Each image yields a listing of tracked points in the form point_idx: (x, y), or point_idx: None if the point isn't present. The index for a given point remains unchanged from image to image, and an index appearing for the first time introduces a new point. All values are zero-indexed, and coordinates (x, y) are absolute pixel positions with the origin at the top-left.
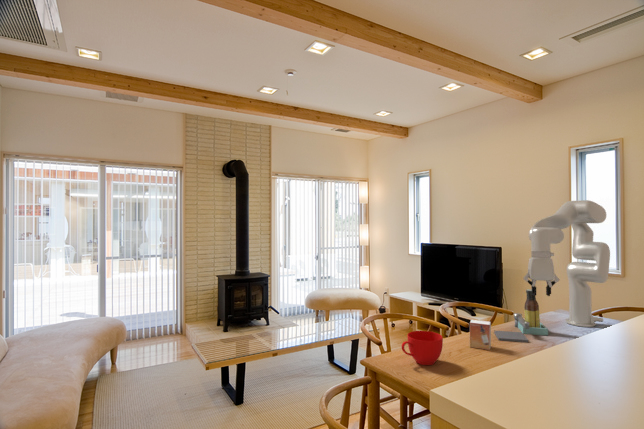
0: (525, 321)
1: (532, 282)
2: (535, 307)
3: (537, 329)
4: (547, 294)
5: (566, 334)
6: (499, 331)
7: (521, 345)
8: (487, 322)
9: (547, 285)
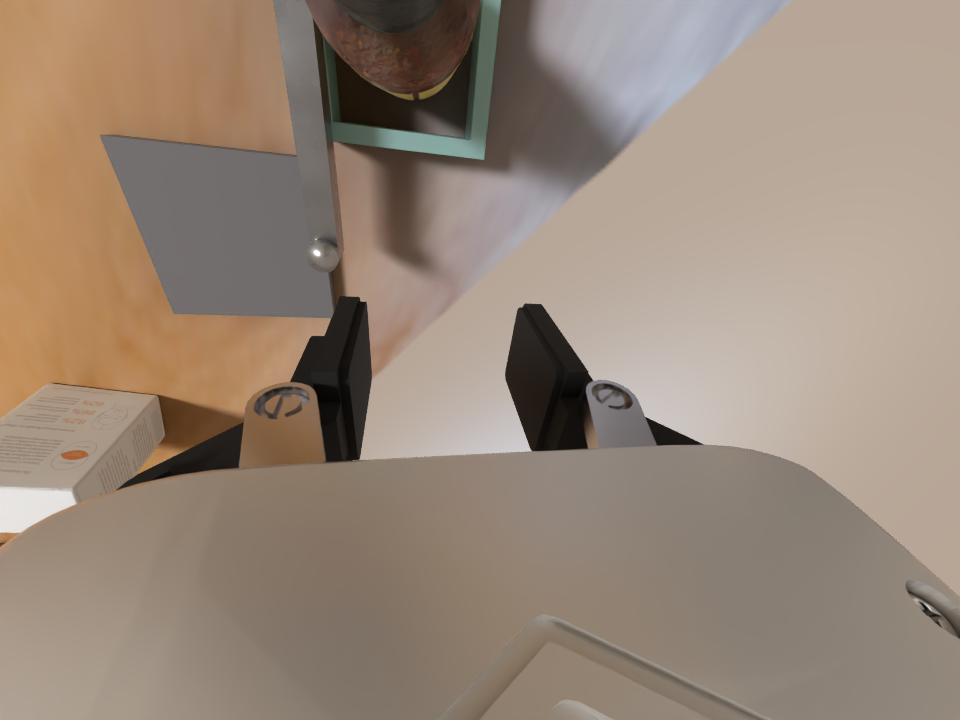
0: (323, 159)
1: (278, 459)
2: (421, 86)
3: (417, 150)
4: (511, 362)
5: (601, 106)
6: (149, 161)
7: (298, 357)
8: (60, 509)
9: (561, 434)
